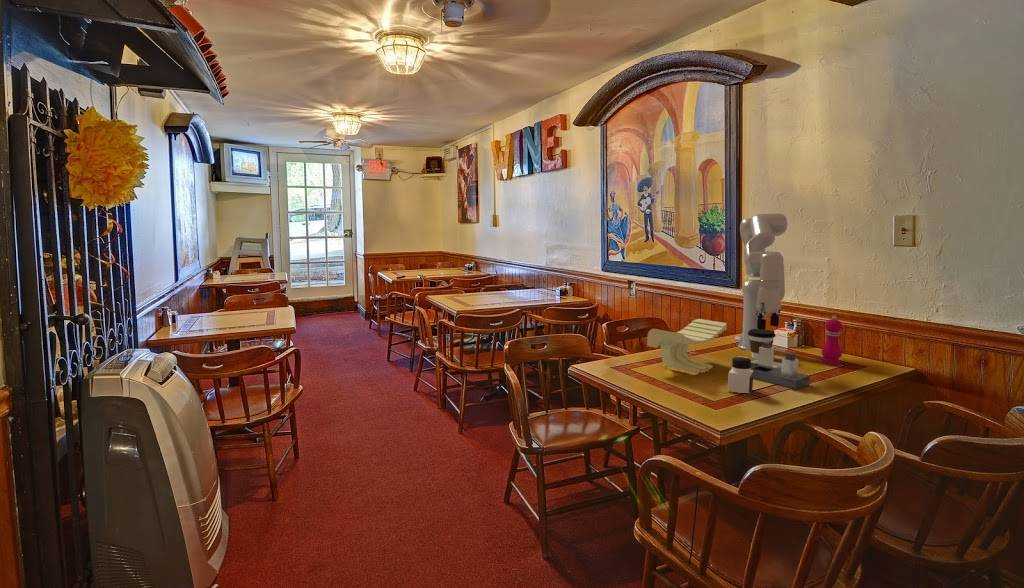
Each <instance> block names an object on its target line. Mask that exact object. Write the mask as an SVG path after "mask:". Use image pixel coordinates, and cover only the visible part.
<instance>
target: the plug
mask: <svg viewBox="0 0 1024 588" xmlns="http://www.w3.org/2000/svg"><path fill="white" fill-rule="evenodd" d="M774 354H775V347H773V346H772V347H771V343H770V342H763V343H762V347H759V359H757V360H758V364H760V365H765V366H769V367H773V362H774V358H775V357H774Z"/></svg>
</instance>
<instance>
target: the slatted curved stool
mask: <svg viewBox="0 0 1024 588" xmlns="http://www.w3.org/2000/svg"><path fill="white" fill-rule="evenodd" d="M727 329H728V323H727V322H722V321H715V320H714V321H713V320H710V319H702V318H696V319H694V320H692V321H691V322H690V323H689V324H687V325H686V326H685V327H684V328H682V329H680V330H679V331H676V332H672V331H668V330H665V329H658V328H651V329H650V330H648V333H647V336H646V337H647V342H646V343H647V344H646V345H647V346H646V347H650V348H655V349H657V348H658V347H660V351H661V352H660V353H661V361H662V364H663V366H664V365H666V366H670V367H674V368H678V369H682V370H685V371H688V372H692V373H697V372H700V371H705V370H707V369H710V370H712V369H713V365H712V364H706V363H704V362H700V361H698V360H695V359H693V358H691V357H690V356H689V355H688V348H689V346H690V345H692V346H697V345H701V344H704V343H708V342H712V341H715V338H718V337H719V335H721V334H723V333H724V332H725V331H727ZM723 331H724V332H723ZM711 368H712V369H711Z"/></svg>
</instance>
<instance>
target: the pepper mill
mask: <svg viewBox="0 0 1024 588" xmlns="http://www.w3.org/2000/svg"><path fill="white" fill-rule="evenodd" d="M824 328H825V329H826V330H825V332H826V333H825V335H826V341H825V343H824V345H823V347H822V349H821V355H822V356H823V357H822V358H821V360H822V361H821V362H822V364H823V363H824V365H826V364H829V365H828V366H839V365H840V364H841V360H840V358H841V357H842V356H843V352H842V351H843V350H842V349H841V346H840V344H839V337H840V336H841V330H842V328H843V324H842V322H841V321H840V320H838V319H837V316H836V315H832V316H831V319H829V320H827V321H826V322H825V323H824Z"/></svg>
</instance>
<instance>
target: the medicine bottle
mask: <svg viewBox="0 0 1024 588" xmlns="http://www.w3.org/2000/svg"><path fill="white" fill-rule="evenodd" d="M751 361H752V360H751V358H749V357H746V356H735V357H733V358H732V360H731V369H730V370H729V372H728V377H727V378H728V379H727V380H728V381H727V391H728V390H732V391H737V392H743V393H750V392H751V393H752V391H753V389H752V388H753V386H754V385H753V384H754V379H753V370H751ZM751 390H752V391H751ZM751 393H750V394H751Z"/></svg>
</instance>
